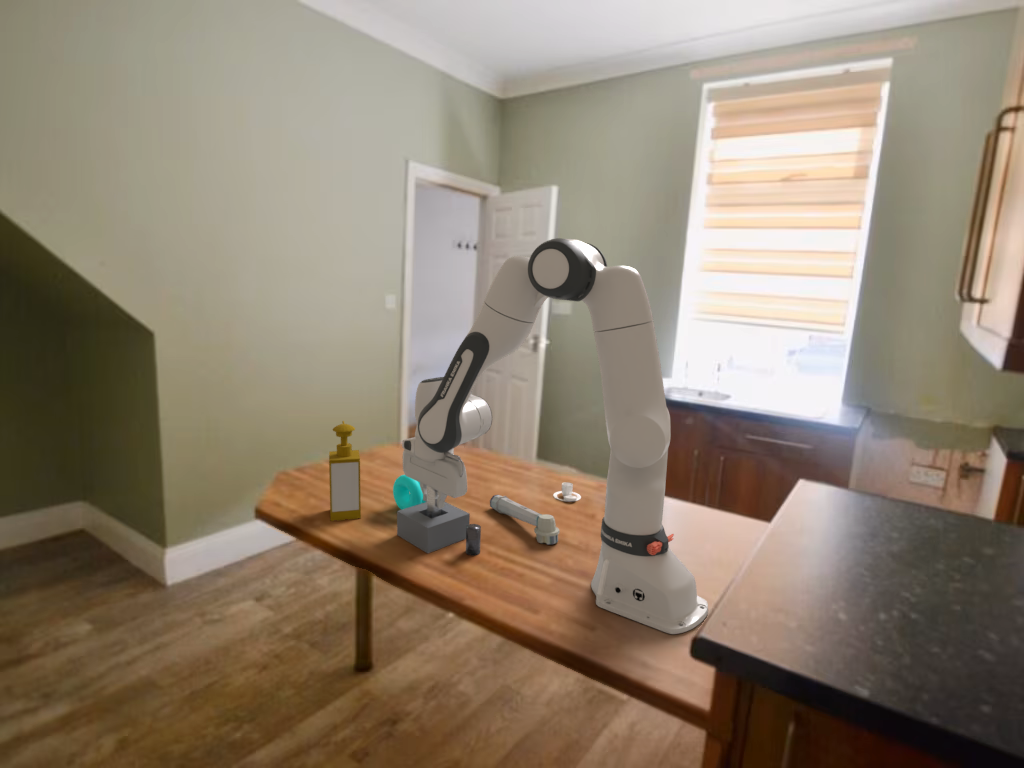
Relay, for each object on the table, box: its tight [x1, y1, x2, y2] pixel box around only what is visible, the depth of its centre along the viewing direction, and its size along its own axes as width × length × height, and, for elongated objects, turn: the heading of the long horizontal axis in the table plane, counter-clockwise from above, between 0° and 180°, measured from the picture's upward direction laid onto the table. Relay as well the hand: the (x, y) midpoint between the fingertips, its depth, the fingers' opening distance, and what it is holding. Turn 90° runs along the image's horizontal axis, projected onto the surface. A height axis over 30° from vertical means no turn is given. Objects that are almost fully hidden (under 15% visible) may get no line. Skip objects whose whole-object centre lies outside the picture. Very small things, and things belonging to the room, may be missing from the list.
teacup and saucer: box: [552, 482, 582, 503], centre depth 158 cm, size 9×8×4 cm
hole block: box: [396, 501, 471, 554], centre depth 130 cm, size 12×12×6 cm
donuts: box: [392, 474, 426, 510], centre depth 146 cm, size 10×10×10 cm
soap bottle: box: [328, 420, 362, 522], centre depth 142 cm, size 7×13×24 cm, turn 18°
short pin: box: [465, 523, 482, 557], centre depth 124 cm, size 3×3×6 cm
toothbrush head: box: [489, 494, 561, 545], centre depth 139 cm, size 5×7×25 cm
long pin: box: [427, 486, 441, 519], centre depth 130 cm, size 3×3×13 cm
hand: (433, 504), depth 130 cm, fingers closed on long pin, 3 cm apart
